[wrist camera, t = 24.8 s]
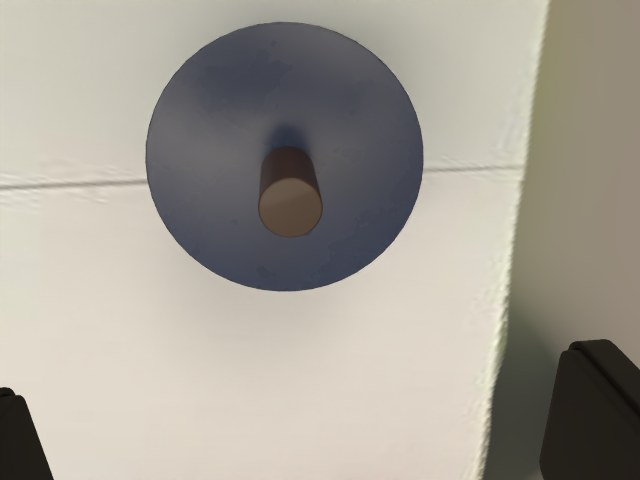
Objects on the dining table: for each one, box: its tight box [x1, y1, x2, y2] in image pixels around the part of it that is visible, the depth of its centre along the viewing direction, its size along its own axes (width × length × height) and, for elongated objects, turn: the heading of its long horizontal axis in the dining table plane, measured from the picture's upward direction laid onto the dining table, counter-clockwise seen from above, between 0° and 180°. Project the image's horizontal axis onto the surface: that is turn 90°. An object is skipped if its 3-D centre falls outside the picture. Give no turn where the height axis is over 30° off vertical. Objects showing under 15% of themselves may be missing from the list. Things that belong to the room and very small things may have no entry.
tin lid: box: [146, 22, 423, 291], centre depth 21 cm, size 12×12×6 cm
